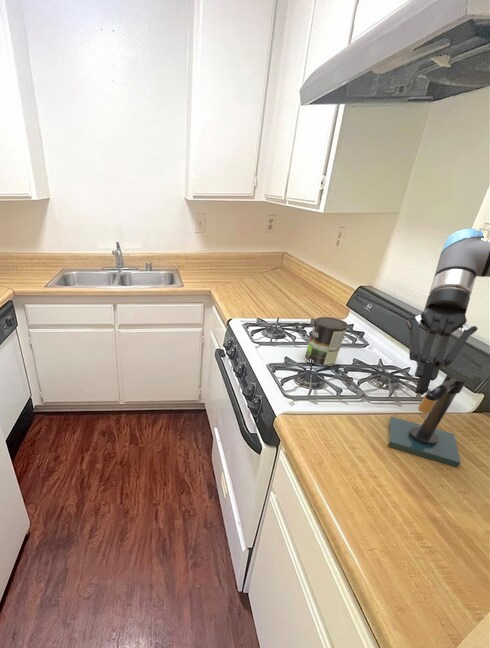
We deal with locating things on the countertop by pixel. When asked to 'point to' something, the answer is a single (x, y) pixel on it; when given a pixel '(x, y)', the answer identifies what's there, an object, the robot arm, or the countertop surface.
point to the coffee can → (325, 340)
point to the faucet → (426, 435)
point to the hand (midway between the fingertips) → (421, 391)
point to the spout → (442, 391)
